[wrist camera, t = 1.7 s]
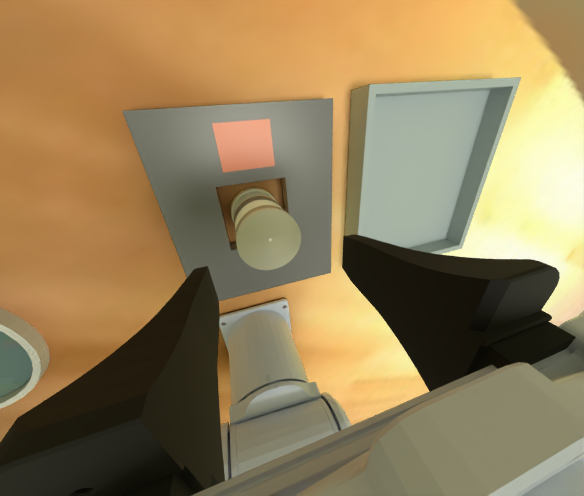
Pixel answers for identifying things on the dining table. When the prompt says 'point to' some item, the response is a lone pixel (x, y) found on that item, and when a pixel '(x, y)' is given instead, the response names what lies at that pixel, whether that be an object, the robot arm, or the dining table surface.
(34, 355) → the magnifying glass
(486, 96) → the parts tray
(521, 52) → the dining table surface
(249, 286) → the fuse holder
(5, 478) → the robot arm
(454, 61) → the dining table surface
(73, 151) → the dining table surface
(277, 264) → the fuse
